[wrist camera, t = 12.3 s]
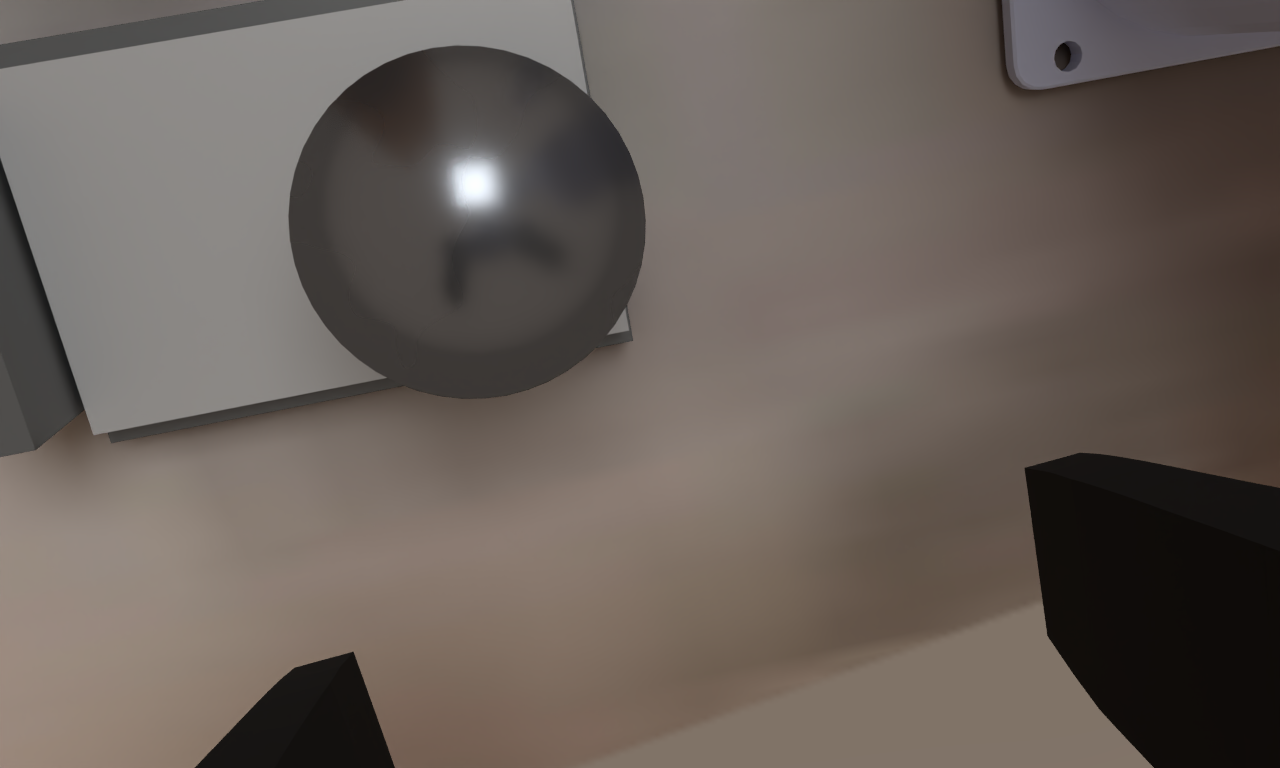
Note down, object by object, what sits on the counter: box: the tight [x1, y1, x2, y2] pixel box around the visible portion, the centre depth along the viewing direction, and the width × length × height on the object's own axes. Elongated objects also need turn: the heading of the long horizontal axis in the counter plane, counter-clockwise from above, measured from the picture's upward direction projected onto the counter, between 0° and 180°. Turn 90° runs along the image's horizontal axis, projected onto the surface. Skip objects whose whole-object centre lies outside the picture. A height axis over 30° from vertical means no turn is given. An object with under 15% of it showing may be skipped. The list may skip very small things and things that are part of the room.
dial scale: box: [0, 0, 633, 457], centre depth 17 cm, size 11×7×4 cm, turn 100°
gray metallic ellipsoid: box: [288, 45, 646, 399], centre depth 15 cm, size 4×4×6 cm
